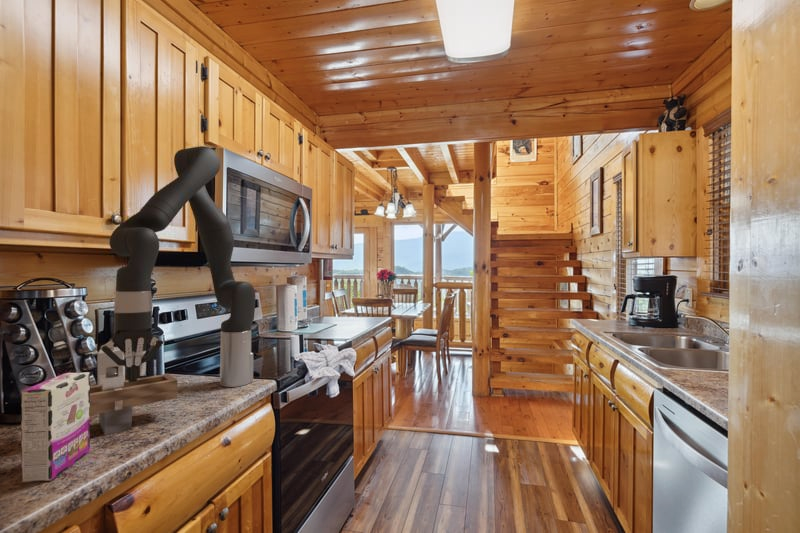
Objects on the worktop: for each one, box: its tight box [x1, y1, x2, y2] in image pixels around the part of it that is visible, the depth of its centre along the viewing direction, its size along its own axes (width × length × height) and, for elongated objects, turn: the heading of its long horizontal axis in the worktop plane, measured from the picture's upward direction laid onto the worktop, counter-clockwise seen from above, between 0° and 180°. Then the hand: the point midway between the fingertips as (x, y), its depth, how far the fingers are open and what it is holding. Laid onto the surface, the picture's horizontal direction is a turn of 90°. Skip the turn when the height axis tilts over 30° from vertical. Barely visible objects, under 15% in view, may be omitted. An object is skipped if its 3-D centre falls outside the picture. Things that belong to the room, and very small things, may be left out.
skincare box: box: [96, 346, 126, 385], centre depth 107 cm, size 8×6×15 cm
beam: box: [89, 373, 178, 436], centre depth 91 cm, size 24×9×10 cm, turn 135°
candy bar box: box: [20, 371, 91, 484], centre depth 73 cm, size 11×5×16 cm, turn 9°
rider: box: [100, 366, 124, 392], centre depth 90 cm, size 4×4×7 cm
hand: (132, 381), depth 93 cm, fingers closed
